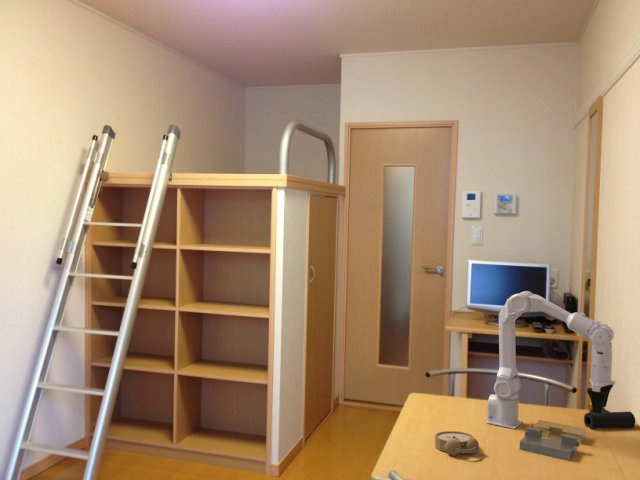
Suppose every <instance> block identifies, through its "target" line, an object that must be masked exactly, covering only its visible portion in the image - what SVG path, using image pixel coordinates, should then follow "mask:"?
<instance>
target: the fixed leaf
mask: <svg viewBox="0 0 640 480" xmlns="http://www.w3.org/2000/svg"><path fill="white" fill-rule="evenodd" d="M579 445H580V444H579V442H577V437H576V436H571V435H567V434H562V435H561V442H560V441H555V440H550V439H549V438H547V437H543V436H542V429H537V428H534V427H532V426H531V427H530V426H527V428H526V430H525V431H524V437H522V438H521V440H519V450H522V451H524V452H525V451H526V452H528V453H529V452H530V453H534V454H538V455H542V456H547V457H552V458H555V459H560V460H565V461H569V462H570V461H571V460H572V458H573V457H574V455H575V454H576V453H577V450H578V447H579Z"/></svg>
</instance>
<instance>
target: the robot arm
mask: <svg viewBox="0 0 640 480" xmlns="http://www.w3.org/2000/svg"><path fill="white" fill-rule="evenodd" d="M526 312H543V313H545V314H547V315H549V316H551V317H553V318H556V319H558V320H560V321H562V322H564V323H565V324H566V327H567V329H569V330H570V331H573V332H574V333H577V334H579V335H580V336H582V337H584V338H586V339H589V340H590V342H591V351H590V352H591V353H590V377H589V383H590V384H591V385H592V387H588V388H587V389H586V393H587V395H588V397H589V398H590V402H591V404H590V405H592V409H593V413H598V414H601V412H602V409H603V407H604V408H606V407H607V403H608V400H609V395H610V393H611V390H612V388H613V387H614V385H616V381H615V380H612V366H613V350H612V349H613V345H612V344H613V343H612V341H613V339H614V337H615V333H614V330H613V328H611V327H610V326H609V325H608V324H606V323H602V324H601V321H599V320H594V319H592V318H590V317H588V316H586V313H584V312H580V313H579V312H577V311H576V312H573V313H571V312H570V311H567V310H566V309H564V308H562V307H560V306H558V305H557V304H555V303H554V302H552V301H550V300H548V299H546V298H544V297H542V296H541V295H538V294H537V293H535V294H534V293H533V292H531V291H530V290H524V291H521V292H520V293H515V294H512V295H511V296H510V297H508V298H507V299H506V302H505V304H504V306H502V308H501V310H500V311H499V313H498V345H499V347H498V349H499V350H498V352H499V353H498V354H499V355H498V358H499V359H498V360H499V362H498V364H499V366H498V367H499V368H498V371H497V374H496V380H495V383H494V385H493V390H494V393H495V394H489V397H488V400H487V417H486V424H488V425H489V424H490V425H495V426H499V427H504V428H510V429H514V430H516V429H517V427H519V426H520V425H521V424H522V423H523V421H522V420H519V407H520V406H519V405H520V401H519V398H520V396H519V394H518V392H519V391H520V390H521V386H522V381H521V380H520V378H519V371H518V369H517V366H516V365H517V362H516V361H517V359H516V358H517V357H516V354H517V352H516V320H517V319H518V318H519V317H521V315H523V314H524V313H526Z"/></svg>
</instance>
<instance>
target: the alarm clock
mask: <svg viewBox="0 0 640 480" xmlns="http://www.w3.org/2000/svg"><path fill="white" fill-rule="evenodd" d="M434 442H435V443H434V444H435V445H434V447H435V448H436V449H438V450H439V451H443V452H446V454H447V455H449V456H450V457H451V456H452V457H456V456H459V455H460V454H461V453H462V454H468V455H476V454H477V453H478V451H479V448H480V444H479V441H478V440H477V439H476V438H475V437H474V435H472V434H470V433H468V432H464V431H456V430H455V431H453V430H450V431H449V430H446V431H440V432H437V433H435V434H434Z"/></svg>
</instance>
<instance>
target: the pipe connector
mask: <svg viewBox="0 0 640 480" xmlns="http://www.w3.org/2000/svg"><path fill="white" fill-rule="evenodd" d="M587 409H588V412H586V413H585V414H584V415H583V423H584V426H585V427H586V426H587V427H586V428H588V427H589V428H590V429H589V428H588V429H589V430H596V429H597V428H601V429H619V428H621V429H622V428H624V429H625V428H634V427H635V426H636V417H635V415H634V413H632V411H612V412H611V411H609V410H607V409H606V407H603V409H602V412H601V414H598V413H593V409H592V404H589V405H587Z"/></svg>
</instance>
